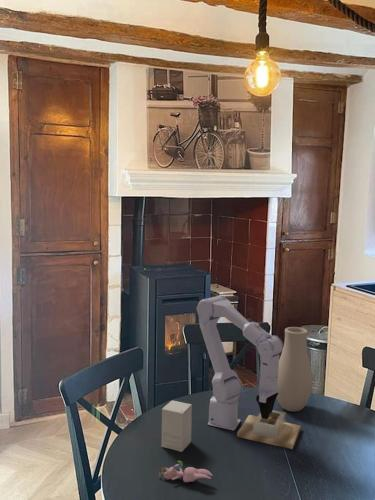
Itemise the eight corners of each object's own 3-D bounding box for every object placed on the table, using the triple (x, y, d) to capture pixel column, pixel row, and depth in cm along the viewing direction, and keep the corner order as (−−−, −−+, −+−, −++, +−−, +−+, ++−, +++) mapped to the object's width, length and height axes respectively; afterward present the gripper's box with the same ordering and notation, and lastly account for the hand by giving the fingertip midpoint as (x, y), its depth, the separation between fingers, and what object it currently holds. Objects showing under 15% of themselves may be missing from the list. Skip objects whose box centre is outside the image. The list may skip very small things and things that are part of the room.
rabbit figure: (157, 486, 141) (209, 489, 136) (154, 465, 140) (206, 468, 135) (165, 474, 147) (215, 476, 142) (162, 454, 146) (212, 456, 141)
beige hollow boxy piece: (253, 434, 165) (253, 422, 164) (262, 419, 176) (262, 408, 175) (277, 440, 162) (278, 428, 161) (285, 423, 173) (286, 412, 172)
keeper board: (237, 436, 166) (237, 420, 166) (249, 418, 179) (249, 403, 178) (292, 449, 160) (293, 432, 159) (300, 429, 172) (301, 414, 172)
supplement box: (191, 441, 162) (192, 404, 161) (181, 452, 156) (182, 413, 154) (171, 436, 165) (172, 399, 164) (160, 446, 159) (161, 408, 157)
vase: (272, 399, 196) (276, 323, 192) (308, 402, 194) (313, 325, 190) (273, 415, 183) (277, 334, 178) (312, 418, 181) (317, 336, 177)
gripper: (276, 385, 153) (273, 427, 155) (286, 369, 167) (283, 408, 169) (253, 381, 156) (251, 422, 158) (265, 365, 169) (263, 404, 171)
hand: (266, 415), depth 163 cm, fingers open, 4 cm apart
